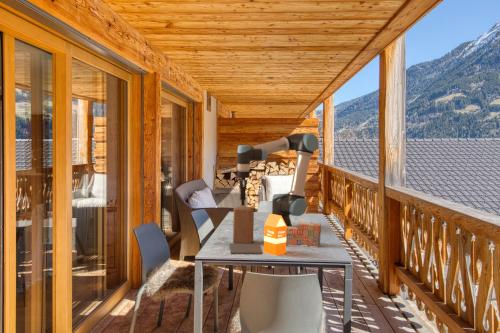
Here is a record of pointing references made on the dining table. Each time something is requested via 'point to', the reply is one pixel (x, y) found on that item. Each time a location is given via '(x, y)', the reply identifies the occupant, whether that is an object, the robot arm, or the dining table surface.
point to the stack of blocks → (304, 234)
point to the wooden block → (243, 225)
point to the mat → (245, 248)
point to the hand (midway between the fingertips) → (242, 210)
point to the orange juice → (275, 235)
